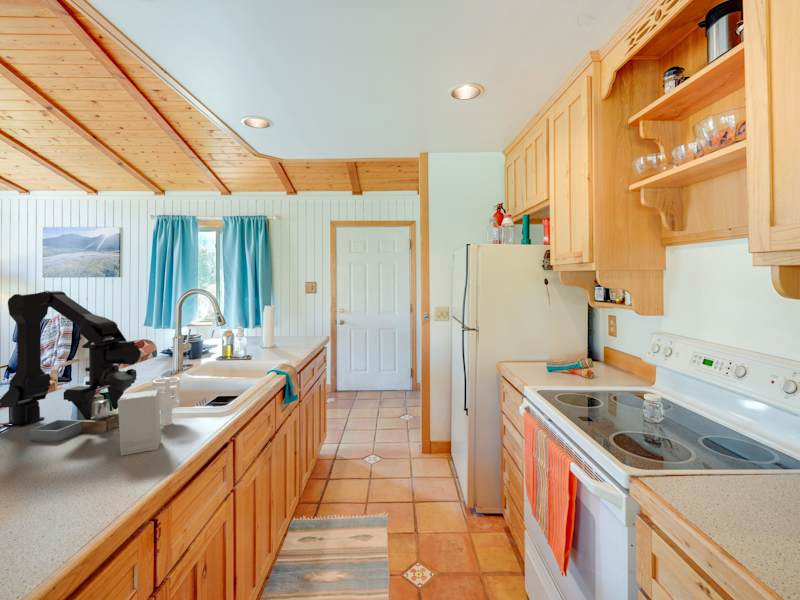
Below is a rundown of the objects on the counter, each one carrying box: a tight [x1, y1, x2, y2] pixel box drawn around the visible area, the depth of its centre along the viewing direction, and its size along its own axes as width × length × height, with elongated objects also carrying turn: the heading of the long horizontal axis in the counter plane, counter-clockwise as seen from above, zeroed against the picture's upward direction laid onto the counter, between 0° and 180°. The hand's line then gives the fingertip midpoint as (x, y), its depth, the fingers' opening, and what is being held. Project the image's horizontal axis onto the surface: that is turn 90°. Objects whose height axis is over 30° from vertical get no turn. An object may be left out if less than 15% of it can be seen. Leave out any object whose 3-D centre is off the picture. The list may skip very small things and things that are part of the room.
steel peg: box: [94, 399, 111, 421], centre depth 108 cm, size 4×4×8 cm
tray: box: [29, 419, 84, 443], centre depth 102 cm, size 8×8×3 cm
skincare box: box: [117, 389, 162, 456], centre depth 95 cm, size 8×6×15 cm
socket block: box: [81, 413, 119, 433], centre depth 108 cm, size 7×7×3 cm
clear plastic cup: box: [152, 376, 181, 427], centre depth 112 cm, size 7×7×15 cm
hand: (102, 414), depth 108 cm, fingers open, 9 cm apart
